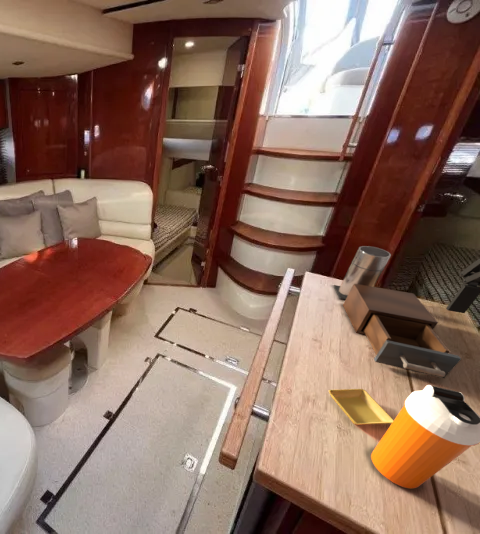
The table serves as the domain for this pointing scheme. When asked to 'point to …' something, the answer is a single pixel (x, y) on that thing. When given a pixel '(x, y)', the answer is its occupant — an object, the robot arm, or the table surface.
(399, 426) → the shaker bottle
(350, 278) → the metal cup
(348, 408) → the yellow square tray
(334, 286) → the coaster
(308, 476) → the table surface
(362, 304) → the cabinet
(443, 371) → the drawer
